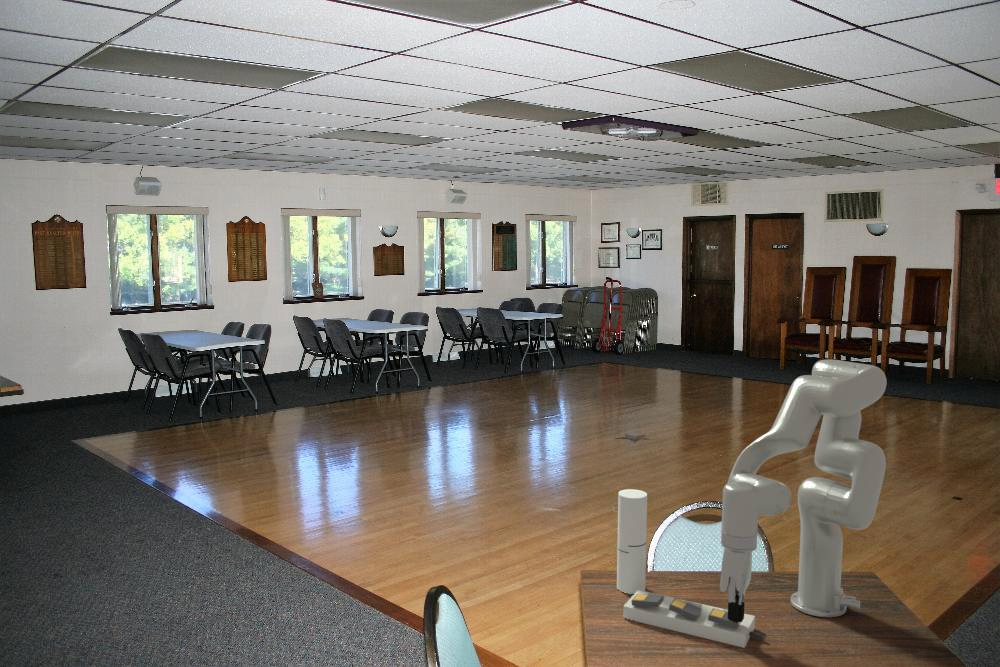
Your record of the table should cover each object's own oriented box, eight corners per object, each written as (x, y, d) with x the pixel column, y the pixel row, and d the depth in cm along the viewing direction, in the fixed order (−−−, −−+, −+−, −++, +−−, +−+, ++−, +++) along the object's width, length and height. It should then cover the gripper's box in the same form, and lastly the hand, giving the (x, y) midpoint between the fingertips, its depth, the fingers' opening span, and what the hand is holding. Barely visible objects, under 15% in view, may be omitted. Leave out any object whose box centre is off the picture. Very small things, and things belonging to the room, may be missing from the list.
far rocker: (663, 600, 188) (662, 594, 188) (658, 607, 185) (657, 601, 185) (637, 598, 191) (637, 593, 191) (632, 605, 188) (631, 600, 188)
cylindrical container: (644, 595, 200) (646, 499, 197) (615, 593, 202) (617, 497, 199) (645, 583, 207) (647, 490, 204) (617, 581, 209) (619, 488, 206)
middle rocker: (700, 613, 184) (701, 608, 184) (695, 620, 180) (697, 615, 180) (674, 602, 187) (675, 597, 187) (668, 609, 183) (669, 604, 183)
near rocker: (741, 621, 179) (741, 615, 179) (737, 628, 176) (737, 623, 176) (712, 613, 182) (713, 607, 182) (708, 620, 179) (708, 614, 179)
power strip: (768, 631, 182) (768, 618, 182) (758, 651, 174) (759, 637, 173) (637, 601, 197) (638, 588, 197) (623, 618, 189) (623, 605, 188)
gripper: (729, 525, 184) (726, 602, 186) (713, 547, 171) (710, 629, 173) (763, 531, 180) (760, 609, 182) (749, 554, 167) (745, 638, 169)
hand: (735, 619), depth 177 cm, fingers closed
